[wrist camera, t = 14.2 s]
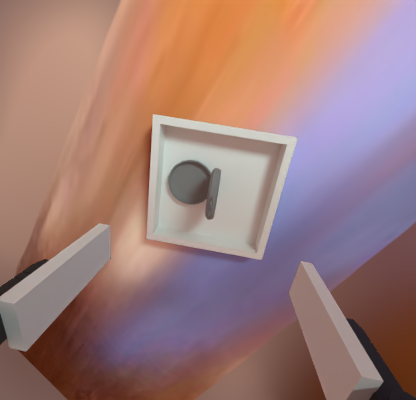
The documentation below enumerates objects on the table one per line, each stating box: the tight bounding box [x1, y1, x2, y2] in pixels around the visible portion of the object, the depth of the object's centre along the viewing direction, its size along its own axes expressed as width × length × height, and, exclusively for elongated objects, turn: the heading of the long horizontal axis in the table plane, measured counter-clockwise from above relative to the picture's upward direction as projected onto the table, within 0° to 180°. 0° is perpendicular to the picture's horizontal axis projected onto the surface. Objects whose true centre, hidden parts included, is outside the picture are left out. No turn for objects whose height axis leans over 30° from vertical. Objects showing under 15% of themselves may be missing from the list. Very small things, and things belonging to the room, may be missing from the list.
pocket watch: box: [168, 160, 221, 220], centre depth 26 cm, size 8×8×10 cm
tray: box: [146, 114, 297, 260], centre depth 30 cm, size 18×18×4 cm
